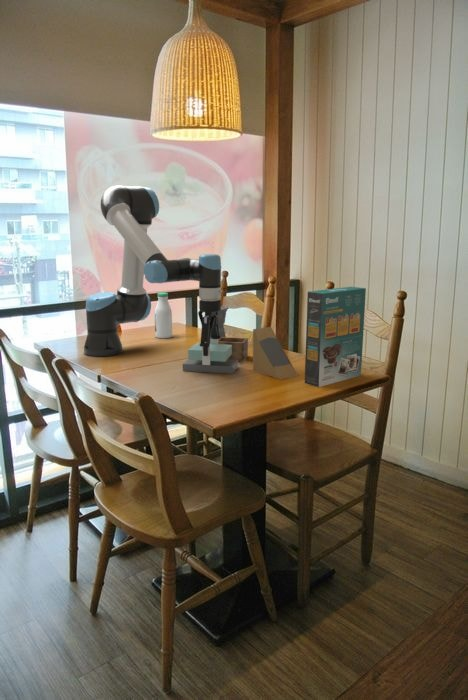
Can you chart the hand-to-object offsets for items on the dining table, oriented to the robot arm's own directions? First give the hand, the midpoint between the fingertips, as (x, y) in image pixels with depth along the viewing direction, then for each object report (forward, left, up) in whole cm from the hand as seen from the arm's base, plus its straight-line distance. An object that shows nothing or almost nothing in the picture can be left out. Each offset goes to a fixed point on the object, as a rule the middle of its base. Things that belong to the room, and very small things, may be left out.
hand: (210, 360), depth 200 cm
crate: (+4, +18, -3) cm, 19 cm away
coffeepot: (-9, +43, -3) cm, 44 cm away
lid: (0, 0, +1) cm, 1 cm away
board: (0, 0, -3) cm, 3 cm away
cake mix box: (+43, -4, -3) cm, 44 cm away
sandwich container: (+23, 0, -3) cm, 24 cm away
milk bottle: (-34, +50, -3) cm, 61 cm away
